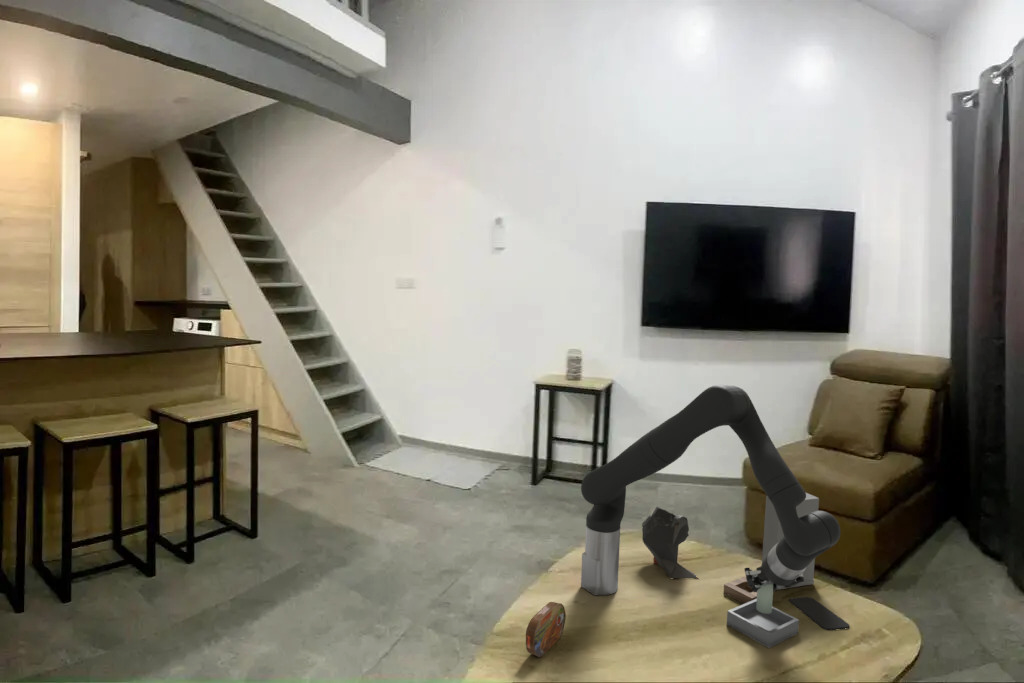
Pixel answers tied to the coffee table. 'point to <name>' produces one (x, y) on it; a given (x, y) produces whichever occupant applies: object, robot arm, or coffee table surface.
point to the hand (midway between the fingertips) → (761, 588)
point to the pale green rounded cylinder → (765, 599)
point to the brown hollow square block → (740, 590)
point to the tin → (545, 628)
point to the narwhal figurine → (666, 540)
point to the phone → (818, 613)
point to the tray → (762, 624)
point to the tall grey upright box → (775, 534)
